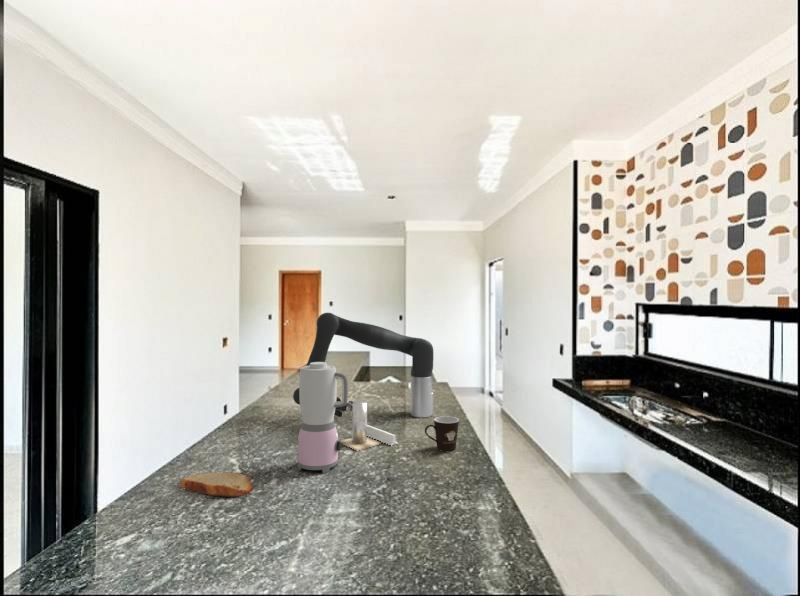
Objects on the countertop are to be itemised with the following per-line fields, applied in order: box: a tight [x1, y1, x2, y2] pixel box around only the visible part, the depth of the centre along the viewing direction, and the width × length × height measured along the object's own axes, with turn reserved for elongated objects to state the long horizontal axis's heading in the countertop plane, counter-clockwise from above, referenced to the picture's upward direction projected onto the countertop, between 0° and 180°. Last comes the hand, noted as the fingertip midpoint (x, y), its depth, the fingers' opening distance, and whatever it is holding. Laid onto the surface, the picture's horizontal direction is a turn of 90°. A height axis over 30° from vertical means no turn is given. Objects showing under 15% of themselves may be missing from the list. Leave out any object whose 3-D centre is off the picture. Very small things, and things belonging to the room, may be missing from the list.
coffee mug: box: [424, 415, 460, 452], centre depth 160 cm, size 12×9×10 cm
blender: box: [297, 361, 349, 474], centre depth 142 cm, size 16×12×32 cm
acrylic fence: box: [367, 424, 399, 447], centre depth 169 cm, size 3×18×4 cm, turn 41°
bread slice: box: [179, 471, 254, 498], centre depth 127 cm, size 18×18×4 cm
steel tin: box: [351, 400, 368, 444], centre depth 164 cm, size 5×5×14 cm
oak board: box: [339, 437, 381, 452], centre depth 164 cm, size 10×11×1 cm
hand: (351, 412), depth 168 cm, fingers open, 8 cm apart
